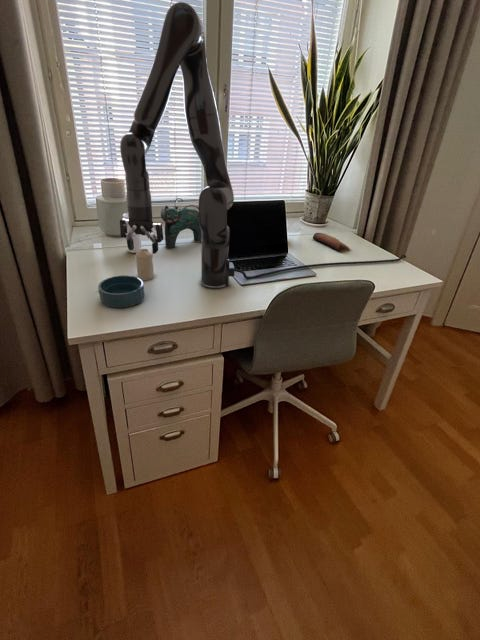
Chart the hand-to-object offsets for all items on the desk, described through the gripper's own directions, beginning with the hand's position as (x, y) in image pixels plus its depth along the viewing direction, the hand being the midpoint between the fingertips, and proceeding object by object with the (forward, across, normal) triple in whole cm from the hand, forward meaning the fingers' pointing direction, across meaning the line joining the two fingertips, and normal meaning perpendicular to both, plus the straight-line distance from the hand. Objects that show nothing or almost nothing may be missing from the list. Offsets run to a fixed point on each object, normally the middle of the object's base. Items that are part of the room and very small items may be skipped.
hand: (143, 251), depth 119 cm
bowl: (+9, 0, +17) cm, 20 cm away
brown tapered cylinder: (+9, -67, -60) cm, 90 cm away
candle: (+10, 0, 0) cm, 10 cm away
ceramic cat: (+10, -2, -36) cm, 38 cm away
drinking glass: (+10, +14, -21) cm, 27 cm away
